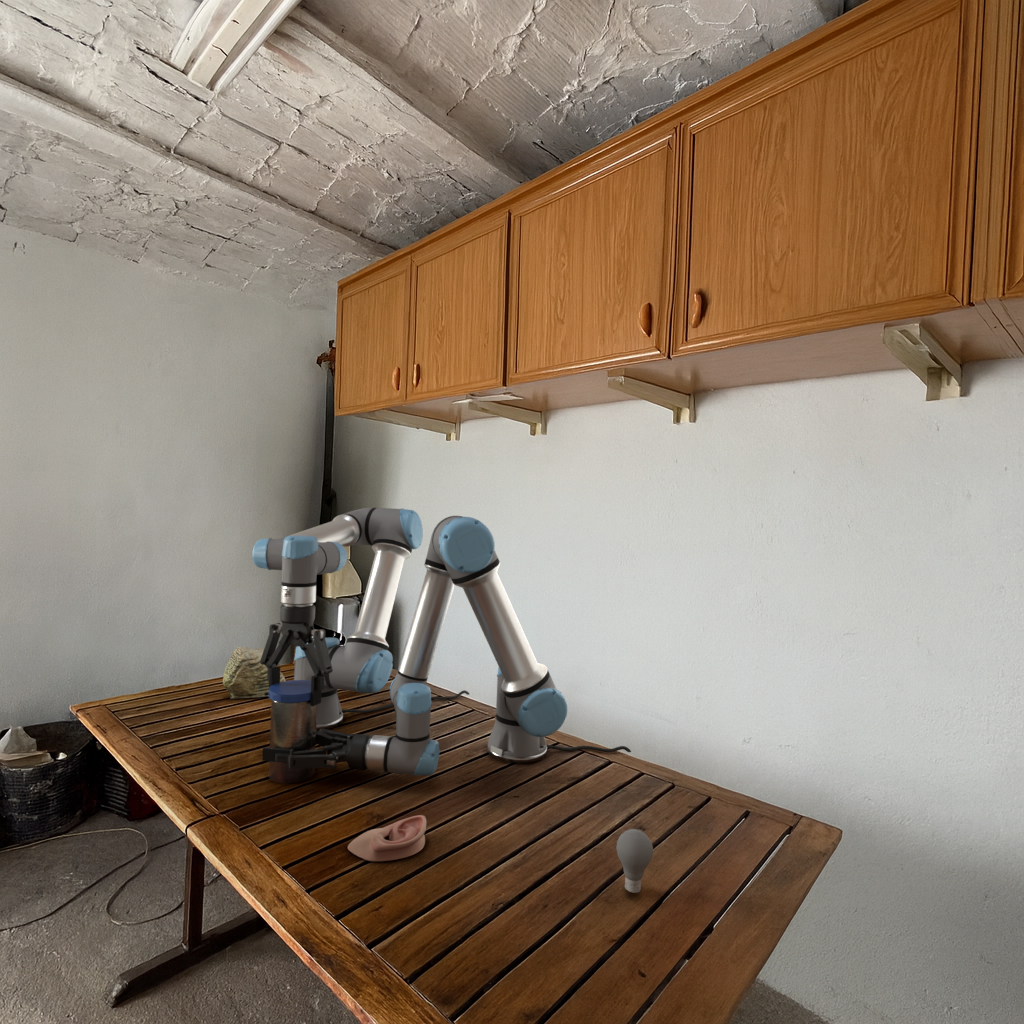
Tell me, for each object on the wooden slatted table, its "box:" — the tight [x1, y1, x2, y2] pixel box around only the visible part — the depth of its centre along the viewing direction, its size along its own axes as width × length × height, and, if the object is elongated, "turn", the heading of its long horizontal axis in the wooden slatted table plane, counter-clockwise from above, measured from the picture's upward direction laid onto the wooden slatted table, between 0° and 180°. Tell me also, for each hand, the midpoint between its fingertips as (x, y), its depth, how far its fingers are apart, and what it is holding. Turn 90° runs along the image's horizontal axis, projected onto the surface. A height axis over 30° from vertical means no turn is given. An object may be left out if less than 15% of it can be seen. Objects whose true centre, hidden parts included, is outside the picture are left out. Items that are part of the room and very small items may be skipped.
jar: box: [268, 699, 317, 784], centre depth 144 cm, size 10×10×19 cm
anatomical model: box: [347, 814, 427, 862], centre depth 116 cm, size 13×4×12 cm
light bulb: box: [615, 828, 654, 894], centre depth 106 cm, size 6×6×10 cm
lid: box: [268, 679, 311, 703], centre depth 144 cm, size 11×11×2 cm
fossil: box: [222, 646, 287, 699], centre depth 198 cm, size 9×18×15 cm, turn 132°
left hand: (294, 700), depth 144 cm, fingers closed on lid, 11 cm apart
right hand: (274, 744), depth 144 cm, fingers closed on jar, 10 cm apart
